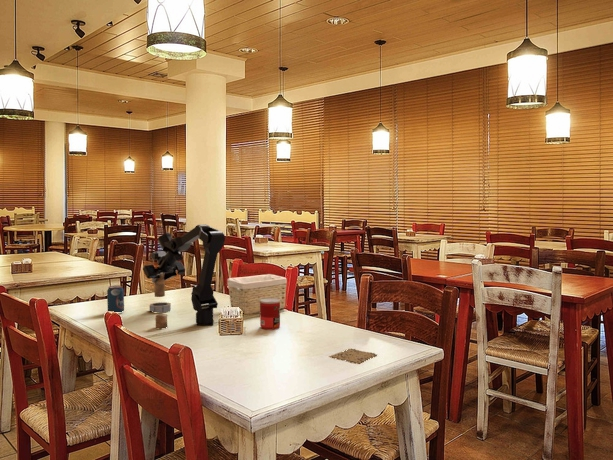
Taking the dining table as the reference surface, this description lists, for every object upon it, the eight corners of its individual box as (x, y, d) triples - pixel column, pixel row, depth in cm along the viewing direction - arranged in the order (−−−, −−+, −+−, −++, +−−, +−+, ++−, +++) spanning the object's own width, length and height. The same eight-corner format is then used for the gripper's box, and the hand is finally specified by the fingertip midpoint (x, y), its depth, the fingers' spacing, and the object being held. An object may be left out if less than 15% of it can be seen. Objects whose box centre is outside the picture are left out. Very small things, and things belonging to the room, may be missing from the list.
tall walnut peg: (166, 295, 241) (166, 269, 240) (161, 297, 236) (161, 270, 235) (157, 294, 242) (157, 269, 241) (152, 296, 237) (152, 270, 237)
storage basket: (242, 316, 230) (242, 282, 229) (226, 309, 243) (225, 277, 242) (288, 309, 244) (288, 277, 243) (270, 303, 257) (270, 273, 256)
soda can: (120, 314, 232) (120, 287, 231) (105, 314, 232) (104, 287, 231) (126, 311, 239) (125, 285, 238) (111, 311, 239) (110, 285, 238)
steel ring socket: (171, 308, 245) (171, 302, 244) (169, 312, 236) (168, 306, 236) (151, 309, 243) (151, 302, 243) (148, 313, 235) (148, 306, 234)
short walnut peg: (168, 326, 212) (167, 313, 212) (166, 328, 208) (166, 316, 207) (156, 326, 211) (156, 314, 211) (154, 329, 207) (154, 316, 207)
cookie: (348, 349, 181) (348, 347, 181) (379, 356, 173) (379, 353, 173) (327, 358, 172) (327, 355, 172) (358, 365, 164) (358, 362, 164)
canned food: (277, 330, 205) (277, 302, 205) (257, 329, 207) (257, 301, 206) (282, 325, 213) (282, 298, 212) (263, 324, 215) (263, 297, 214)
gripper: (181, 244, 242) (168, 265, 250) (144, 247, 228) (132, 269, 236) (191, 262, 237) (178, 284, 245) (154, 266, 223) (141, 289, 231)
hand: (157, 281), depth 239 cm, fingers closed on tall walnut peg, 4 cm apart
